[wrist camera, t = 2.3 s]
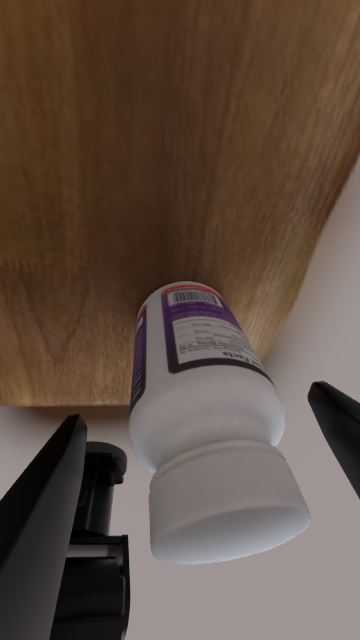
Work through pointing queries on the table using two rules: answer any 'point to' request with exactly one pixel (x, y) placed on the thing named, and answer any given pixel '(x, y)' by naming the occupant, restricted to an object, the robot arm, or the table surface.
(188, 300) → the pill bottle
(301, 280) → the table surface
